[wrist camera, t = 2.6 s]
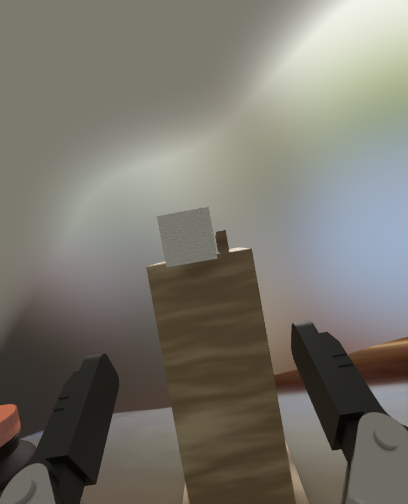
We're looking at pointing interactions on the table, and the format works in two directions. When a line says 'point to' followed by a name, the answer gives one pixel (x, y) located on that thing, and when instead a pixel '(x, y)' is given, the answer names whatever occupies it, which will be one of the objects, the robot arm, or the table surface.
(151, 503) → the table surface
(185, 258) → the rail
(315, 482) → the table surface
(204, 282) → the post
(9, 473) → the bottle
